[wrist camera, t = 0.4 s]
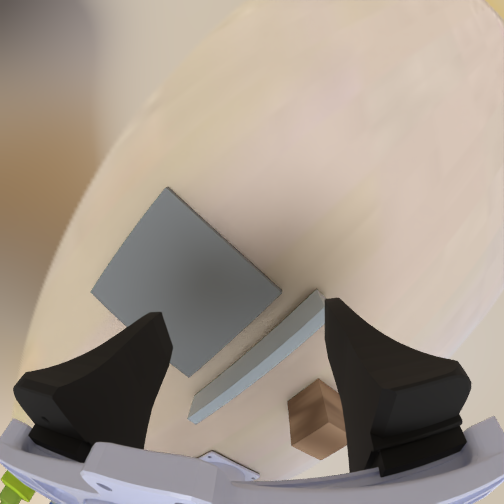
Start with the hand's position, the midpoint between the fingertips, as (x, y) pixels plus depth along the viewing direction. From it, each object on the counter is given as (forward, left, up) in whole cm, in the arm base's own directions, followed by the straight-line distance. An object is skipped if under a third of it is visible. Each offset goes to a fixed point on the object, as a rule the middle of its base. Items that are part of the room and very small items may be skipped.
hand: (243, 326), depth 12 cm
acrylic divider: (-6, -6, -11) cm, 14 cm away
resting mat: (-6, +3, -11) cm, 13 cm away
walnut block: (-6, -14, -11) cm, 19 cm away
